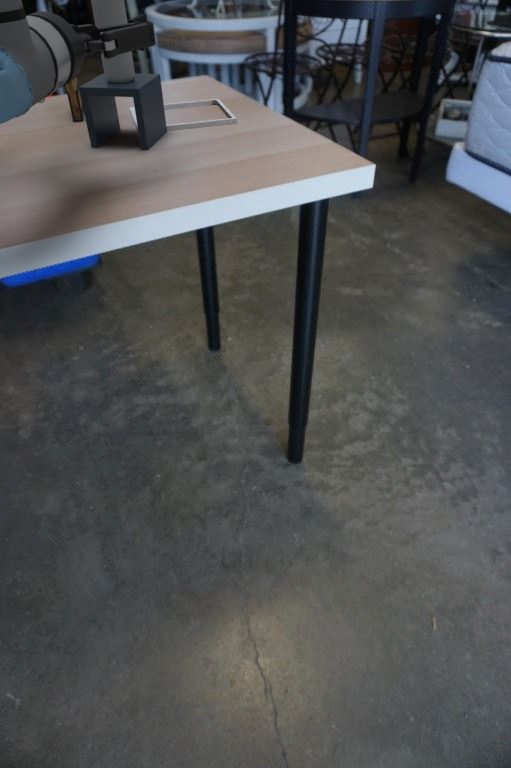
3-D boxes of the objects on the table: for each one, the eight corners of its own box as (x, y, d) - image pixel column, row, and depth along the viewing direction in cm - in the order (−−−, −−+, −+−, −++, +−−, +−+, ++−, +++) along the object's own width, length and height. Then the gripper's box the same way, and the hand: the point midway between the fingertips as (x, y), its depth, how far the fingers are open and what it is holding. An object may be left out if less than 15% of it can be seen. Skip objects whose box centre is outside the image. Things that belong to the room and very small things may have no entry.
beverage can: (135, 76, 88) (122, -15, 80) (135, 82, 84) (121, -12, 76) (106, 77, 87) (89, -14, 79) (105, 84, 84) (87, -10, 76)
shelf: (91, 147, 89) (78, 87, 83) (114, 129, 96) (104, 72, 90) (147, 149, 87) (138, 88, 81) (167, 131, 95) (160, 73, 89)
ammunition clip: (74, 107, 108) (58, 37, 100) (83, 106, 108) (68, 36, 100) (73, 121, 100) (56, 47, 92) (83, 121, 100) (67, 46, 92)
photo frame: (128, 106, 104) (218, 97, 107) (129, 112, 105) (218, 103, 108) (137, 127, 93) (236, 117, 97) (138, 134, 94) (237, 124, 98)
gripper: (-49, 90, 65) (24, 55, 81) (151, 91, 63) (186, 55, 78) (-76, 16, 60) (8, -6, 76) (140, 14, 58) (180, -8, 73)
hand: (99, 25), depth 77 cm, fingers open, 13 cm apart
